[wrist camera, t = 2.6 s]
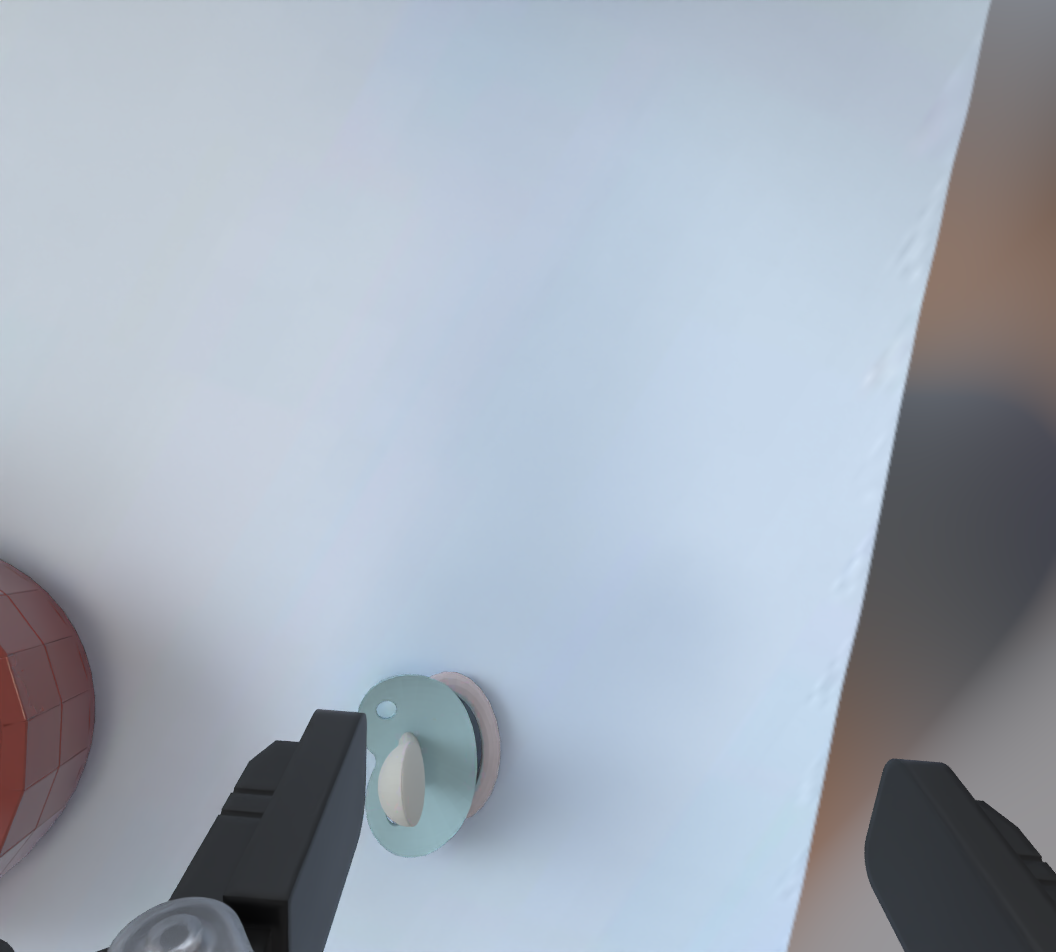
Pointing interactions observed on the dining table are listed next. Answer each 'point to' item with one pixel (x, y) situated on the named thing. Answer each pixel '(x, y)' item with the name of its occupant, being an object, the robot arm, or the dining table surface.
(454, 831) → the pacifier
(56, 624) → the pot
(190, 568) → the dining table surface
